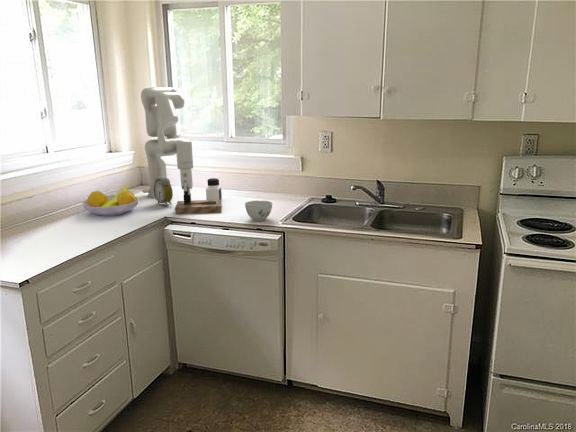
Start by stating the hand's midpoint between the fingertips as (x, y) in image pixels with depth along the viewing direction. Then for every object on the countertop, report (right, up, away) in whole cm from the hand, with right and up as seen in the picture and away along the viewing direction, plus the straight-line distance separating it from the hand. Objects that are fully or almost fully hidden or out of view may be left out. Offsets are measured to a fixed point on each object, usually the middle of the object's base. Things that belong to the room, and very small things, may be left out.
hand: (187, 201), depth 238 cm
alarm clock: (-14, -2, +12) cm, 19 cm away
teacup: (+36, -9, -16) cm, 40 cm away
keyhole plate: (+5, -4, +2) cm, 7 cm away
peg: (0, -4, +1) cm, 4 cm away
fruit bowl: (-37, -5, 0) cm, 37 cm away
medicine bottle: (+10, +1, +21) cm, 23 cm away
